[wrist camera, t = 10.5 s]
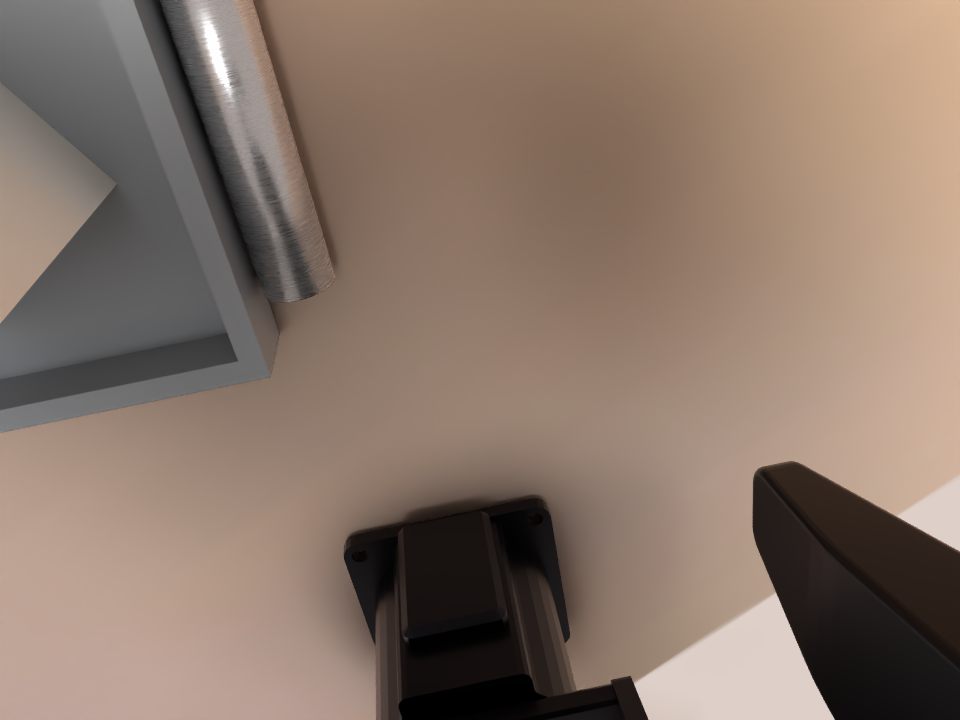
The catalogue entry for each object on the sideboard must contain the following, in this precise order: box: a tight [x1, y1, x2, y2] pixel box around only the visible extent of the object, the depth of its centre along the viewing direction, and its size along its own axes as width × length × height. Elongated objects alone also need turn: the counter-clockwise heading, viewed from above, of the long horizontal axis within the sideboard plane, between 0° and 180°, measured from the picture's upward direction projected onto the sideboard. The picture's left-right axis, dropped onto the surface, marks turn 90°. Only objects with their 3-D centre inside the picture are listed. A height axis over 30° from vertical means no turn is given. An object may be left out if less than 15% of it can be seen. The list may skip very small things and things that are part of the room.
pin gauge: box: [159, 0, 335, 303], centre depth 17 cm, size 10×2×2 cm
